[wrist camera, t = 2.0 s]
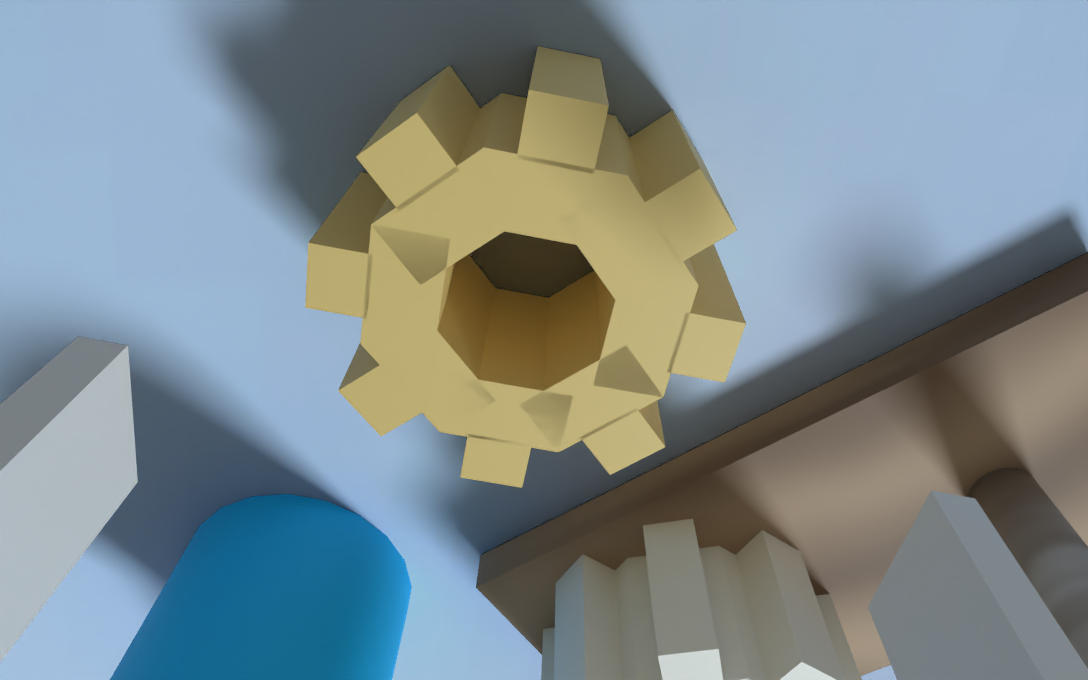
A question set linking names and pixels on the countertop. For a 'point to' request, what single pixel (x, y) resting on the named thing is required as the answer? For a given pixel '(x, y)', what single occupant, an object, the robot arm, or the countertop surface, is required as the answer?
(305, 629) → the mug
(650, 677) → the cream gear
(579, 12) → the countertop surface
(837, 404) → the walnut board
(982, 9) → the countertop surface
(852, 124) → the countertop surface
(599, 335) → the ochre gear
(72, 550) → the robot arm
